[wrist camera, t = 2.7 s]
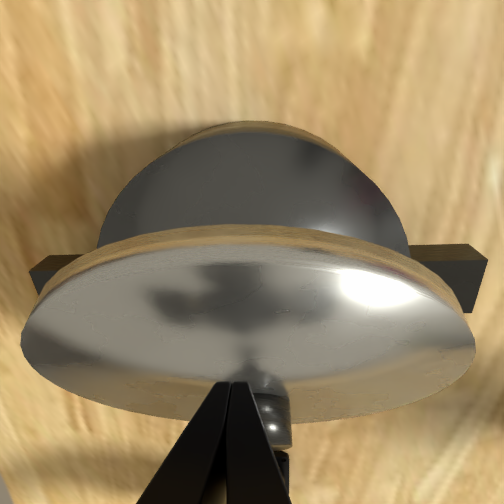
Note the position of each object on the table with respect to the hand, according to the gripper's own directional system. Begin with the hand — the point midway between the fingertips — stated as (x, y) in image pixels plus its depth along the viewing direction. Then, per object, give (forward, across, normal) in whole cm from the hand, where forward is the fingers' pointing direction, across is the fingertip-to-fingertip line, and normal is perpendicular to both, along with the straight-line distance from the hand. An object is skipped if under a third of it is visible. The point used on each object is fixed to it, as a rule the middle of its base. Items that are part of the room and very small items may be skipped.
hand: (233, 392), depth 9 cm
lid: (+5, 0, +3) cm, 6 cm away
